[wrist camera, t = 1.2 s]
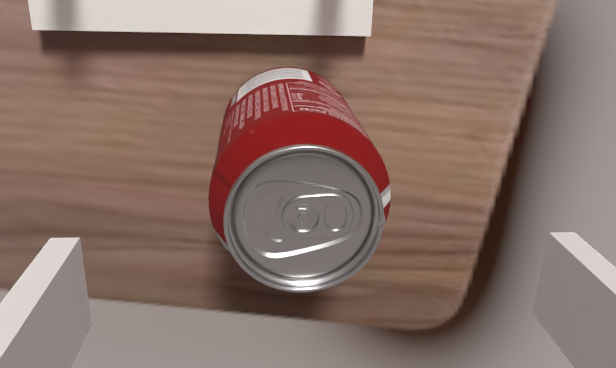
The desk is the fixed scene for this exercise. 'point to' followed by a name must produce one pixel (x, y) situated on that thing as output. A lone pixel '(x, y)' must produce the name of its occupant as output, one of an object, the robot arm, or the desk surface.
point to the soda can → (297, 183)
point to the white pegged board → (206, 16)
